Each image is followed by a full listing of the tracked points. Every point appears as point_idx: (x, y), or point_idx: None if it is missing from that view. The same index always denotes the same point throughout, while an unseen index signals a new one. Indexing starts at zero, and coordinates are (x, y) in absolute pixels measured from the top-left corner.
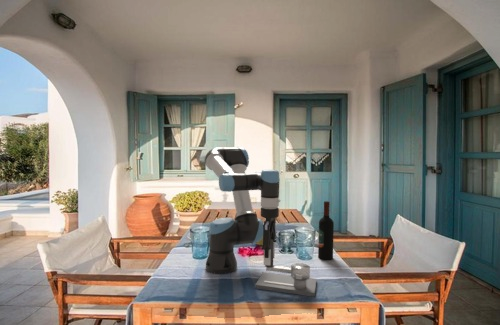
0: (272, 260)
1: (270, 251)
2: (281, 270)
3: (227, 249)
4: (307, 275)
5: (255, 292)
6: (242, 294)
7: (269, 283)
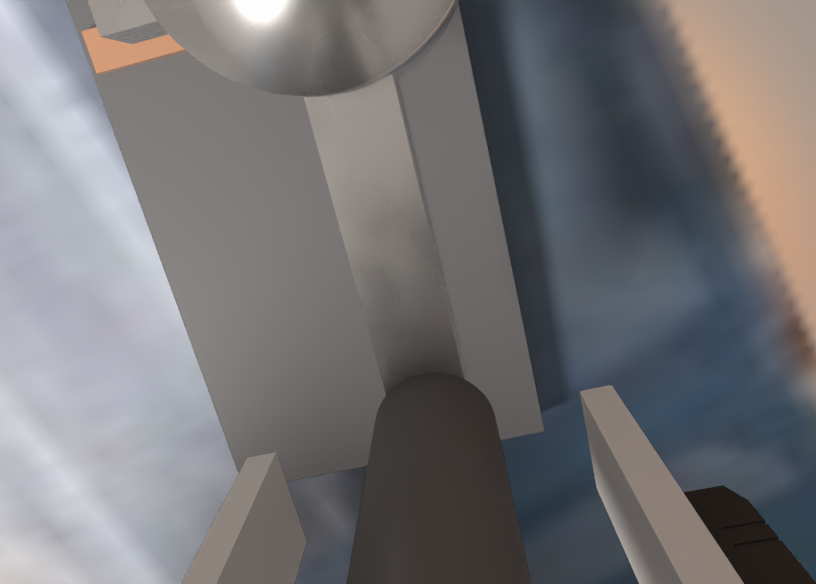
0: (449, 425)
1: (695, 560)
2: (429, 227)
3: None
4: None
5: (613, 376)
6: (698, 454)
7: None
